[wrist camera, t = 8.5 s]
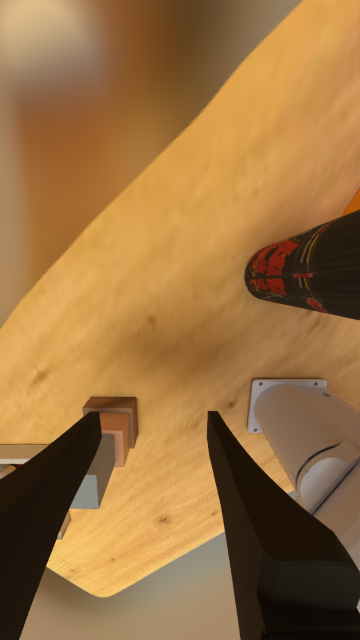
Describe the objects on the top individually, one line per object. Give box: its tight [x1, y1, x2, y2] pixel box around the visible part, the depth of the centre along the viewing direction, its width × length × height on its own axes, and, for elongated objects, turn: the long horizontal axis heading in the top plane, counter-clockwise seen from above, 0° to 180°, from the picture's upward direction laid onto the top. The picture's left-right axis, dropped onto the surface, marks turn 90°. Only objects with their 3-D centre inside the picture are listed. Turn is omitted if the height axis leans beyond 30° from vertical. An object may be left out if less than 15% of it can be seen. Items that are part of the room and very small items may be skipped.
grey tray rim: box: [0, 445, 70, 539], centre depth 25 cm, size 10×15×2 cm
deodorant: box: [245, 210, 360, 320], centre depth 12 cm, size 6×6×15 cm
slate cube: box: [70, 434, 115, 509], centre depth 17 cm, size 4×4×4 cm
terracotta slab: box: [99, 413, 130, 467], centre depth 20 cm, size 5×5×2 cm
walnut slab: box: [82, 397, 138, 448], centre depth 23 cm, size 6×6×2 cm
